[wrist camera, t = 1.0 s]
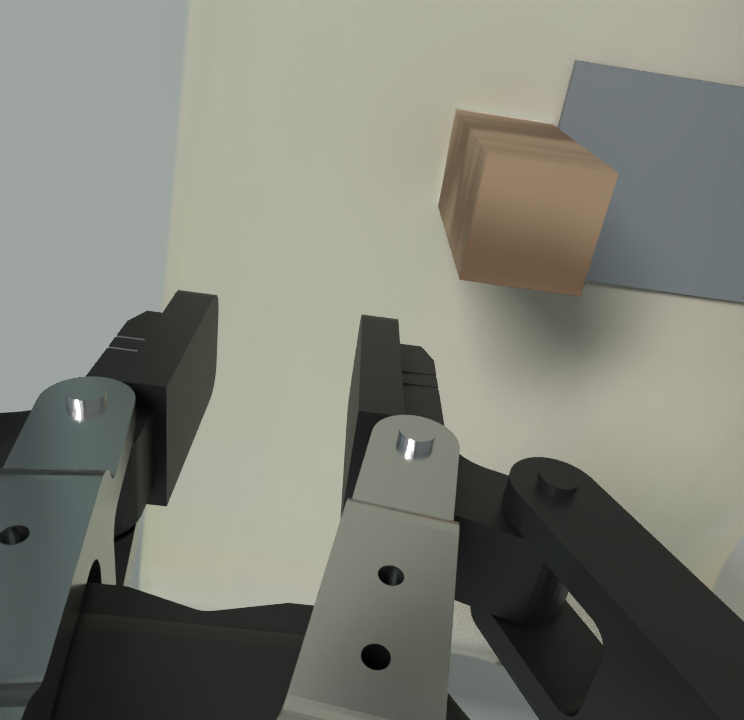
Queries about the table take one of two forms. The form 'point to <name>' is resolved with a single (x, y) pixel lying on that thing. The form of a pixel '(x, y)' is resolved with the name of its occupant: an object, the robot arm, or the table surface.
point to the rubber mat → (664, 178)
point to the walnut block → (522, 203)
